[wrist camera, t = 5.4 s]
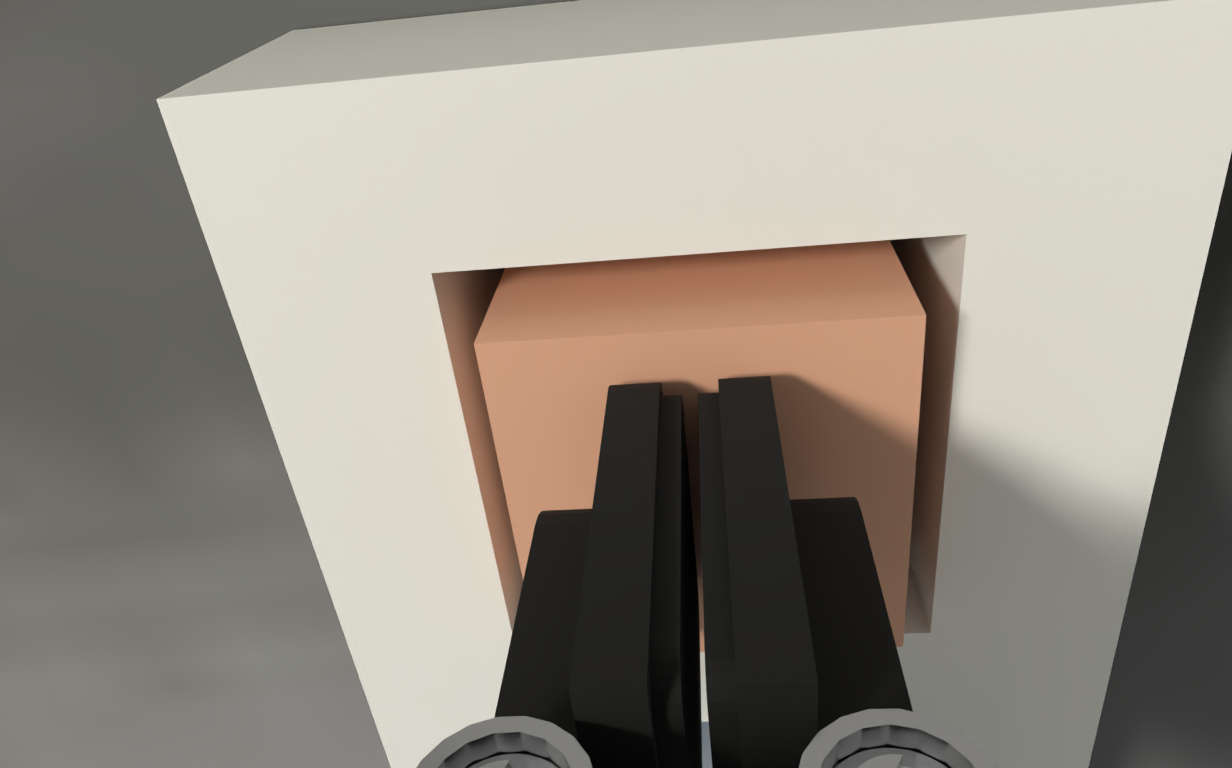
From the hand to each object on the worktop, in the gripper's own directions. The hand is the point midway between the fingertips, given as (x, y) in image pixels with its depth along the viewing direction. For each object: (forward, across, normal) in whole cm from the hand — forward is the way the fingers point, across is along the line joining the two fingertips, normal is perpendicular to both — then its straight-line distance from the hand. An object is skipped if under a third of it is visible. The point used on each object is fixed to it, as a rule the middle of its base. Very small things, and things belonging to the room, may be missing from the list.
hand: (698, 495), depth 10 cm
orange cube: (+3, 0, 0) cm, 4 cm away
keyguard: (+4, 0, +8) cm, 9 cm away
